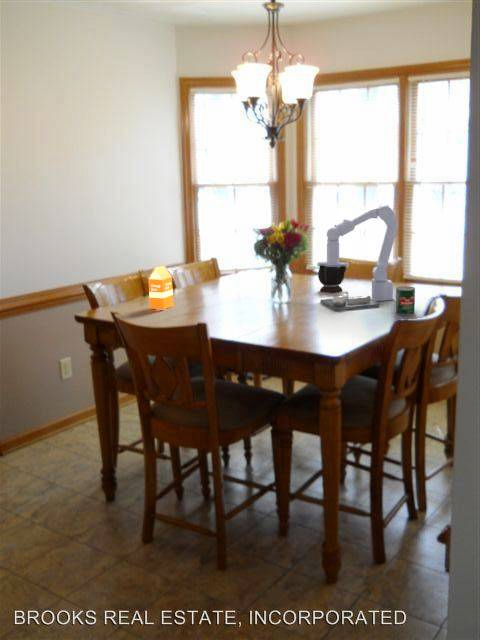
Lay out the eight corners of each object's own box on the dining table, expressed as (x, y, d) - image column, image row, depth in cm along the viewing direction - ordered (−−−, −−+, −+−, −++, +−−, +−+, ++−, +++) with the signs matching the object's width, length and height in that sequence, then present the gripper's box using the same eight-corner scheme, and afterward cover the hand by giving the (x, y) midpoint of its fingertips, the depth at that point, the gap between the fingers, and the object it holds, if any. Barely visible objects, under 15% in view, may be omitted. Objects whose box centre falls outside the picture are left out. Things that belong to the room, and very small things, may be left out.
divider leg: (343, 302, 314) (343, 296, 313) (339, 302, 315) (339, 296, 314) (348, 298, 324) (348, 291, 323) (345, 297, 324) (345, 291, 324)
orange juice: (174, 306, 328) (171, 265, 323) (164, 310, 320) (161, 268, 315) (159, 305, 331) (157, 264, 326) (150, 309, 323) (147, 267, 319)
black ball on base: (348, 289, 352) (348, 260, 349) (337, 294, 342) (337, 264, 338) (325, 287, 359) (324, 259, 356) (313, 292, 349) (313, 262, 345)
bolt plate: (362, 299, 328) (362, 287, 327) (379, 307, 310) (379, 295, 309) (320, 302, 324) (320, 291, 322) (335, 311, 306) (335, 299, 304)
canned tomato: (404, 316, 292) (404, 290, 289) (391, 312, 299) (392, 287, 296) (418, 313, 295) (419, 288, 293) (406, 310, 302) (406, 285, 300)
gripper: (315, 254, 323) (315, 282, 326) (346, 255, 317) (345, 284, 321) (319, 252, 329) (319, 280, 332) (349, 252, 324) (349, 281, 327)
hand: (332, 281), depth 327 cm, fingers open, 7 cm apart
